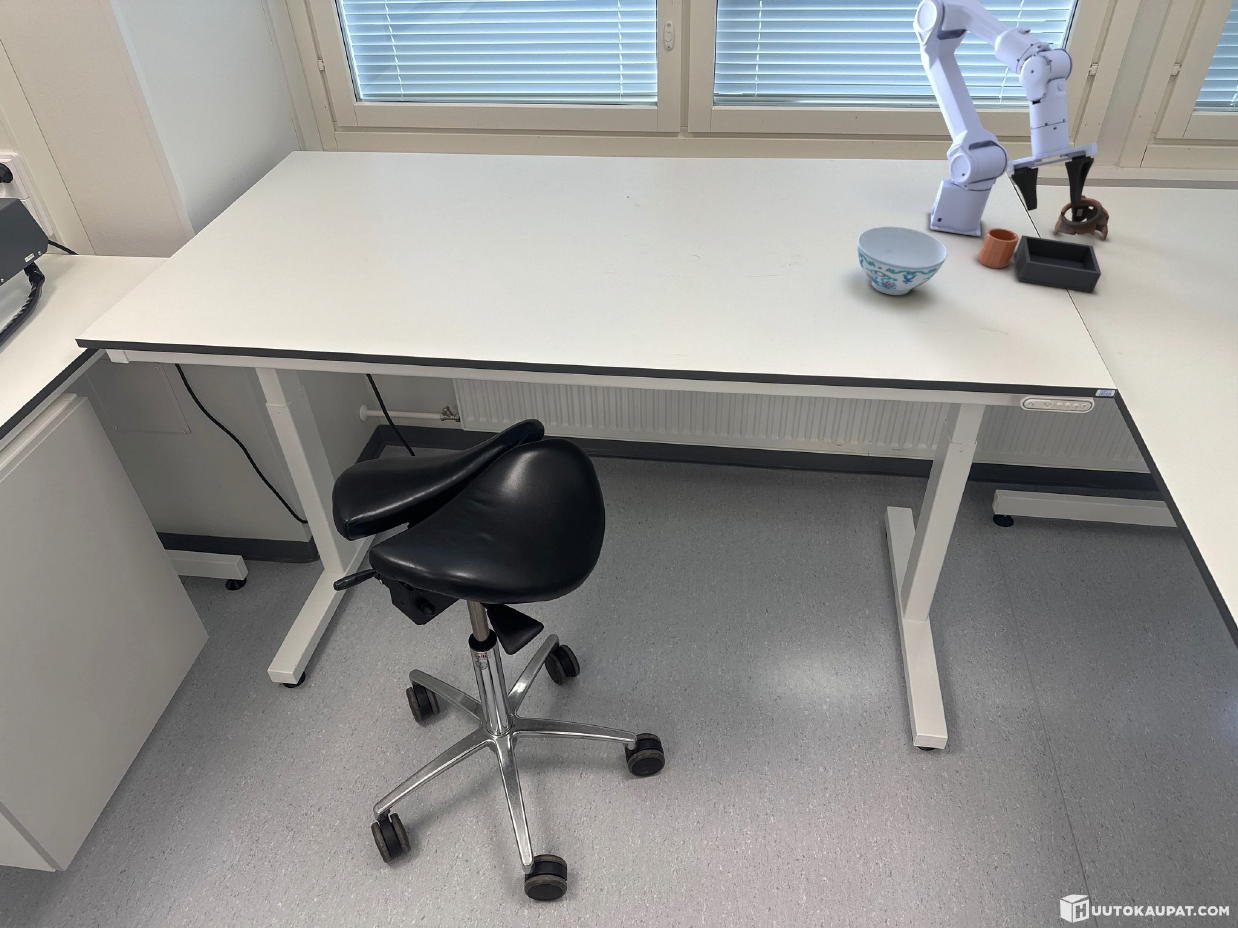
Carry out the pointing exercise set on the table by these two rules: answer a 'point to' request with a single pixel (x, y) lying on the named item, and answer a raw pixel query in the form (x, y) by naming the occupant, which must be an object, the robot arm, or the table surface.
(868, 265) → the chinaware
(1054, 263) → the tray
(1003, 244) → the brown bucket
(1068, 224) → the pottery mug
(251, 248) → the table surface
